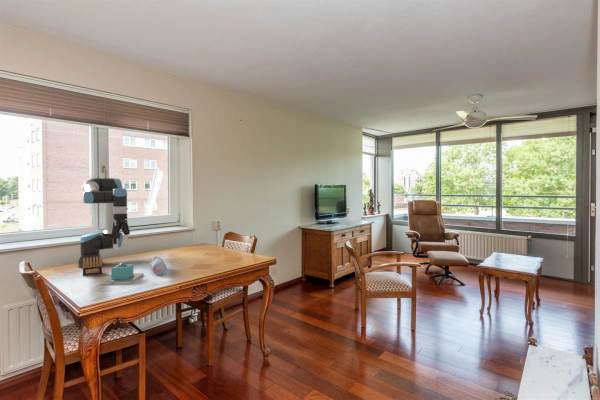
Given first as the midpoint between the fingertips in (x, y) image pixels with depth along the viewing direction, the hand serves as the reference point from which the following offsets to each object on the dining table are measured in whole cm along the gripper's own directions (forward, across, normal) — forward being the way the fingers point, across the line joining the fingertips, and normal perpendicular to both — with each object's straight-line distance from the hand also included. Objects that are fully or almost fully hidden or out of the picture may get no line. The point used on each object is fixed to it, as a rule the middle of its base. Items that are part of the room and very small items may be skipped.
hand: (120, 247), depth 193 cm
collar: (+19, -1, -1) cm, 19 cm away
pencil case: (+21, +16, -17) cm, 31 cm away
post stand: (+21, -1, -1) cm, 21 cm away
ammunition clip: (+21, +14, +24) cm, 35 cm away
